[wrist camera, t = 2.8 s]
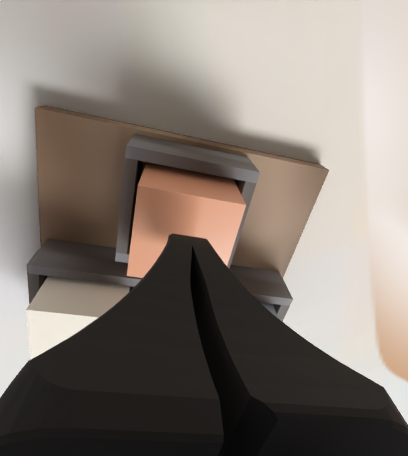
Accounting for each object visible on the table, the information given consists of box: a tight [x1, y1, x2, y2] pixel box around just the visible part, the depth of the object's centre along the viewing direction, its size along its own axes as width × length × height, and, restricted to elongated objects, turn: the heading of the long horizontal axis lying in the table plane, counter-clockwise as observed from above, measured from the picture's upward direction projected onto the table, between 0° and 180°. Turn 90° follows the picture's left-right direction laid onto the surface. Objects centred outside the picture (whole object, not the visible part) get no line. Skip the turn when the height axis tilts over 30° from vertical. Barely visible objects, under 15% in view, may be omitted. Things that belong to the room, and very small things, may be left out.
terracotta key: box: [127, 162, 246, 278], centre depth 13 cm, size 4×4×3 cm
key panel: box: [27, 106, 329, 321], centre depth 16 cm, size 14×13×4 cm
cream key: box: [26, 276, 130, 360], centre depth 15 cm, size 4×4×3 cm
